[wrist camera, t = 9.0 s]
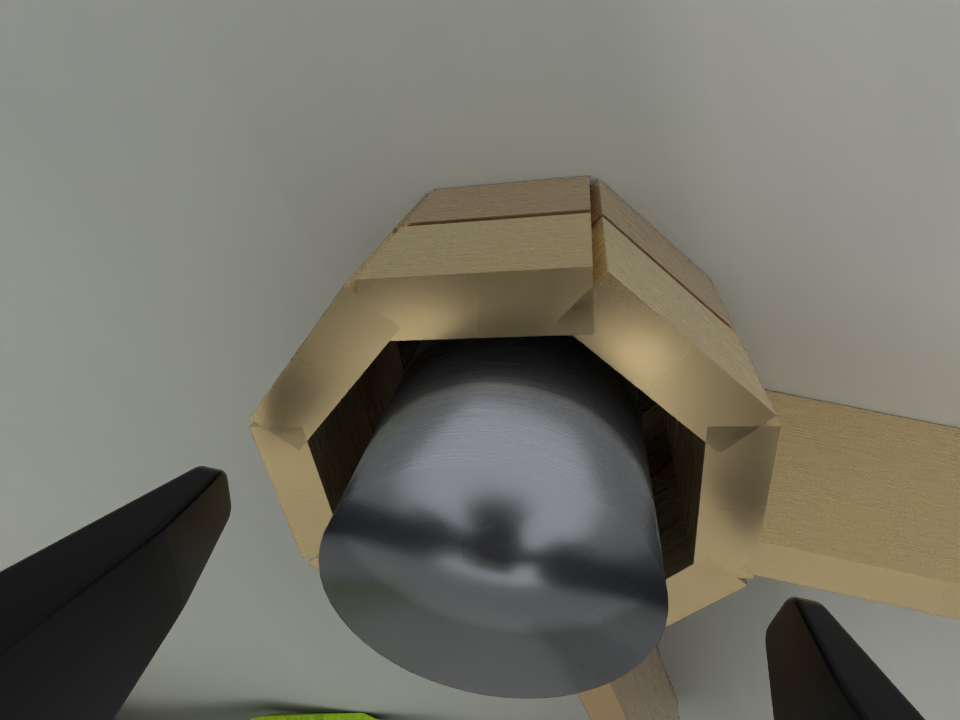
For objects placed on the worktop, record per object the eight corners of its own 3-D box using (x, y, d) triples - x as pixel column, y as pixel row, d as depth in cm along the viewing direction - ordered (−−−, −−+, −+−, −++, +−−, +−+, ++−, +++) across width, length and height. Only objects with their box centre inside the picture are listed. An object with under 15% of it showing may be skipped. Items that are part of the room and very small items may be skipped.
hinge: (1194, 483, 13) (1492, 709, 9) (662, 706, 21) (683, 882, 17) (643, -105, 9) (695, -214, 5) (247, 439, 17) (136, 578, 13)
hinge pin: (676, 349, 13) (751, 616, 7) (536, 462, 16) (509, 729, 10) (514, 213, 12) (449, 396, 6) (391, 357, 15) (262, 586, 9)
